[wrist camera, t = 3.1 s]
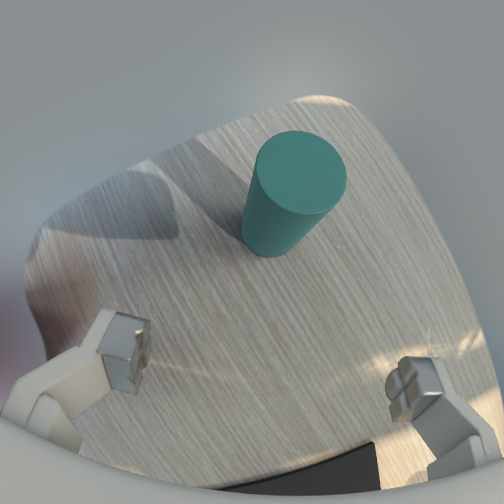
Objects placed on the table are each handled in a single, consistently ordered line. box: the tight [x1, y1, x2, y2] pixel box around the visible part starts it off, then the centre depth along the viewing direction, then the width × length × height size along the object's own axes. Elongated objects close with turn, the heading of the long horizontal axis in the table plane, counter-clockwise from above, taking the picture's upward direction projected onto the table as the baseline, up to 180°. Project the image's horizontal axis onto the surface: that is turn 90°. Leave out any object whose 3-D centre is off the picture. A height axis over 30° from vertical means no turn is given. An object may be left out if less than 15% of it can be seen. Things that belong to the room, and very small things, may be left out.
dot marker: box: [241, 131, 347, 257], centre depth 16 cm, size 4×4×10 cm
